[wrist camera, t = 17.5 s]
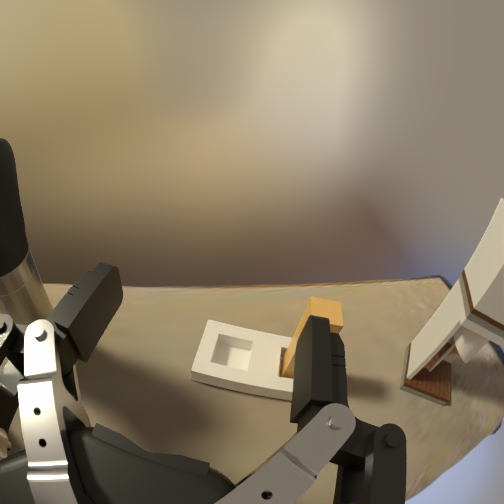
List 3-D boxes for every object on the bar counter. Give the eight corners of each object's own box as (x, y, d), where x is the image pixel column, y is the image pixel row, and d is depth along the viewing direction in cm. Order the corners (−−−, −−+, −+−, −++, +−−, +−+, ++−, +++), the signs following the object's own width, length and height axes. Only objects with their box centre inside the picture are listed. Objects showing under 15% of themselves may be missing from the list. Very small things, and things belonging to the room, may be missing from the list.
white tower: (399, 388, 40) (525, 222, 19) (406, 348, 48) (501, 197, 27) (443, 405, 36) (569, 260, 16) (445, 365, 44) (543, 230, 24)
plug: (279, 380, 39) (311, 320, 30) (281, 360, 42) (310, 296, 34) (304, 384, 39) (343, 326, 30) (305, 364, 42) (340, 302, 33)
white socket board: (191, 379, 37) (191, 370, 35) (207, 330, 45) (208, 319, 44) (320, 404, 37) (327, 396, 35) (320, 353, 45) (327, 344, 43)
